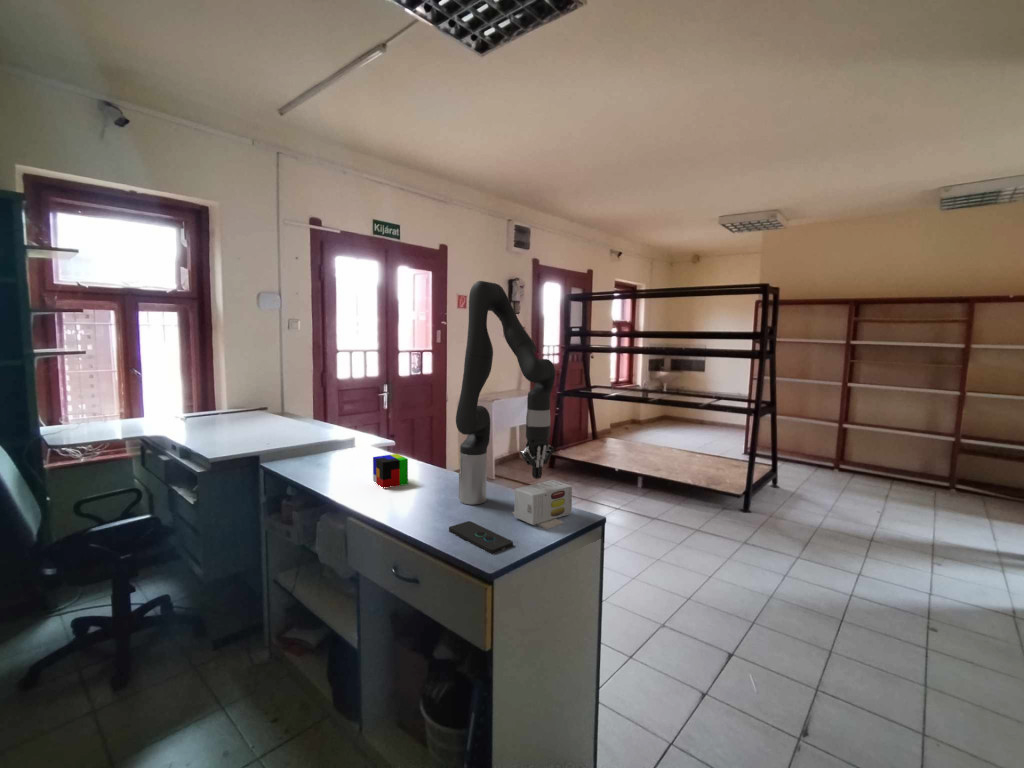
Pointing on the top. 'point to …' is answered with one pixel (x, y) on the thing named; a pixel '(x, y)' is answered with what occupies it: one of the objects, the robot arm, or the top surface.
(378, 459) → the puzzle toy
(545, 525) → the plain beige rectangular board
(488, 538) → the smart home device
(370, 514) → the top surface
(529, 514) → the supplement box
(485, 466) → the robot arm
